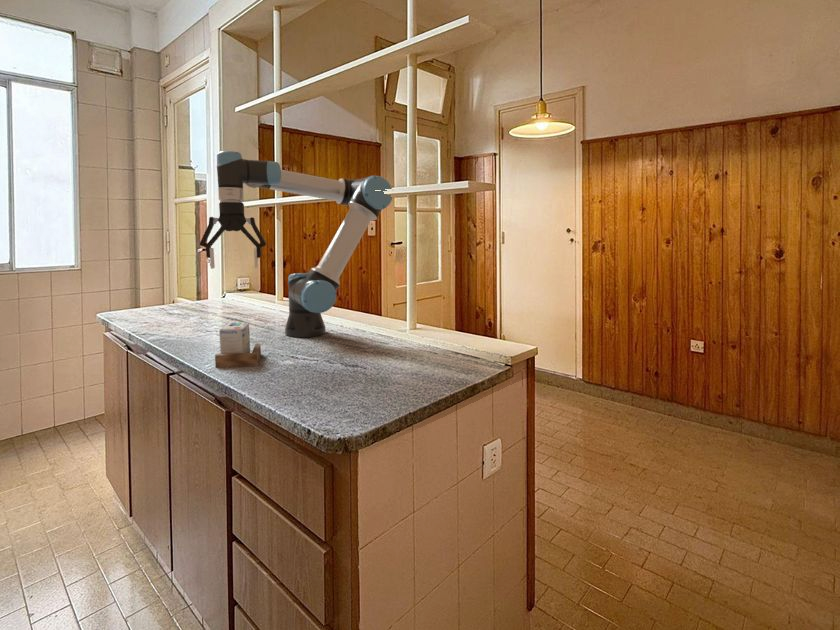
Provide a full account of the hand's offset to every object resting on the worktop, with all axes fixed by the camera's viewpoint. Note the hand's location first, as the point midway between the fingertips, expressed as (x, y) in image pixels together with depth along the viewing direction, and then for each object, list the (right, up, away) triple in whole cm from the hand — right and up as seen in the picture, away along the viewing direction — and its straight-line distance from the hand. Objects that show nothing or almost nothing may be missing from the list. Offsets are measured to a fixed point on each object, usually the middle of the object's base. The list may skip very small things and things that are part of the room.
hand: (234, 268), depth 169 cm
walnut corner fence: (+6, -29, -12) cm, 32 cm away
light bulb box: (+5, -29, -11) cm, 32 cm away
